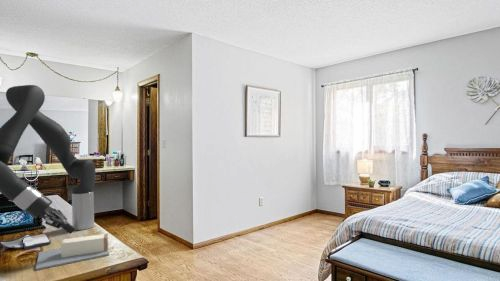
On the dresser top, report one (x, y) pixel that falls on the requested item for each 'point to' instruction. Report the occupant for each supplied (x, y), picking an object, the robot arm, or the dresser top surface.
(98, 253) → the rubber mat
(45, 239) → the dark grey smartphone
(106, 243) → the cream block
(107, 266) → the dresser top surface
